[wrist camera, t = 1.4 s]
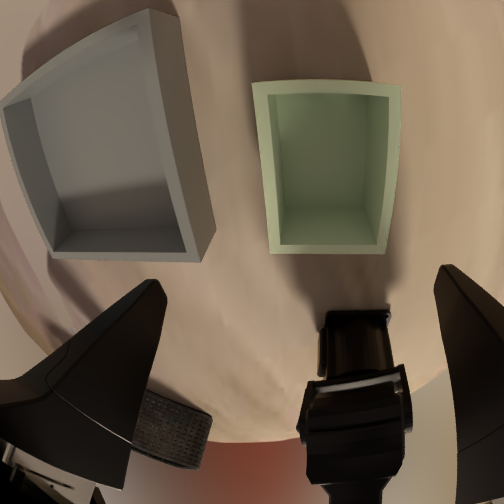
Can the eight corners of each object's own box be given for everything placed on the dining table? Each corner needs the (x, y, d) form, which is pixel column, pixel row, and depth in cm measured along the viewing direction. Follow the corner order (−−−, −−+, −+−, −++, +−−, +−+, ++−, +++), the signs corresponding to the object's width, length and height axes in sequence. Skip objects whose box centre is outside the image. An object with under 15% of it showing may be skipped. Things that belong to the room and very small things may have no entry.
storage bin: (97, 384, 57) (79, 425, 46) (92, 360, 45) (66, 412, 35) (194, 427, 61) (183, 469, 51) (217, 415, 50) (204, 470, 39)
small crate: (372, 81, 13) (400, 85, 9) (368, 211, 18) (384, 254, 14) (265, 81, 14) (251, 83, 10) (277, 210, 19) (269, 253, 15)
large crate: (179, 17, 11) (148, 7, 8) (216, 229, 21) (200, 262, 18) (29, 91, 15) (-3, 103, 11) (75, 235, 24) (52, 258, 21)
